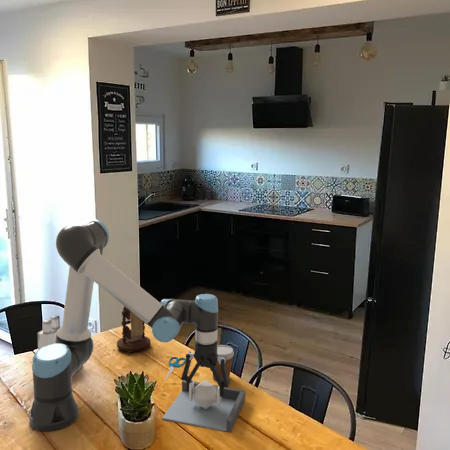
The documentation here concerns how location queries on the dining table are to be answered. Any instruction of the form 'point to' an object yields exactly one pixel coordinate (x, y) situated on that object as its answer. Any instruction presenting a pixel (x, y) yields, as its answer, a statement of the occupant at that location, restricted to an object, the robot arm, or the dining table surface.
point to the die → (205, 394)
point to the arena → (207, 410)
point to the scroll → (133, 333)
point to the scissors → (174, 365)
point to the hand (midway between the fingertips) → (205, 401)
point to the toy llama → (48, 332)
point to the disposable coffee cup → (224, 352)
